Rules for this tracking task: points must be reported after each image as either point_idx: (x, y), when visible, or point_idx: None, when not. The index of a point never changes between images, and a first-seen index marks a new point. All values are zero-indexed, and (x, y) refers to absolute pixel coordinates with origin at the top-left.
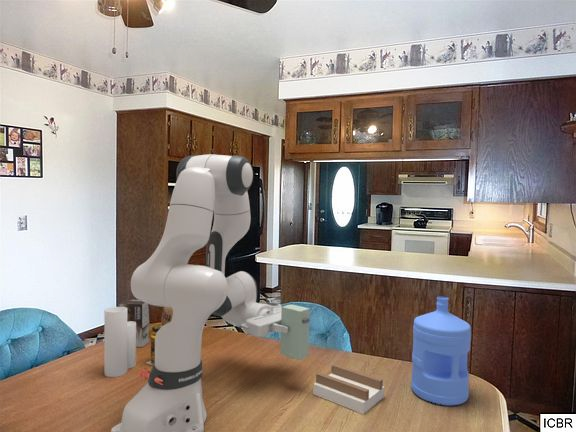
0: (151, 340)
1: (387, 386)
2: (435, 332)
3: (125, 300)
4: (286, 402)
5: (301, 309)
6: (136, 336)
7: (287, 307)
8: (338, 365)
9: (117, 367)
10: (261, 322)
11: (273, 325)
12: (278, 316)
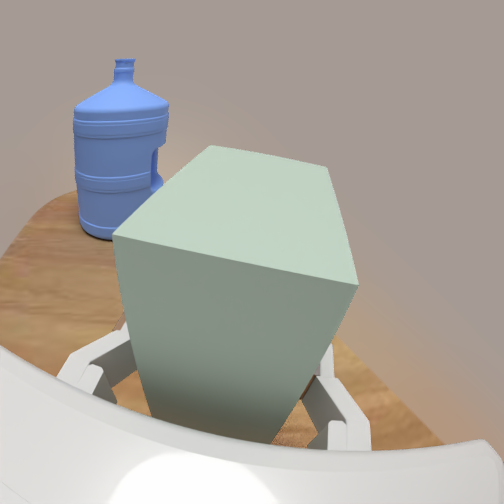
0: None
1: (114, 269)
2: (166, 109)
3: None
4: (305, 433)
5: (275, 164)
6: None
7: (314, 230)
8: (122, 318)
9: None
10: (464, 484)
11: (368, 442)
12: (151, 500)
